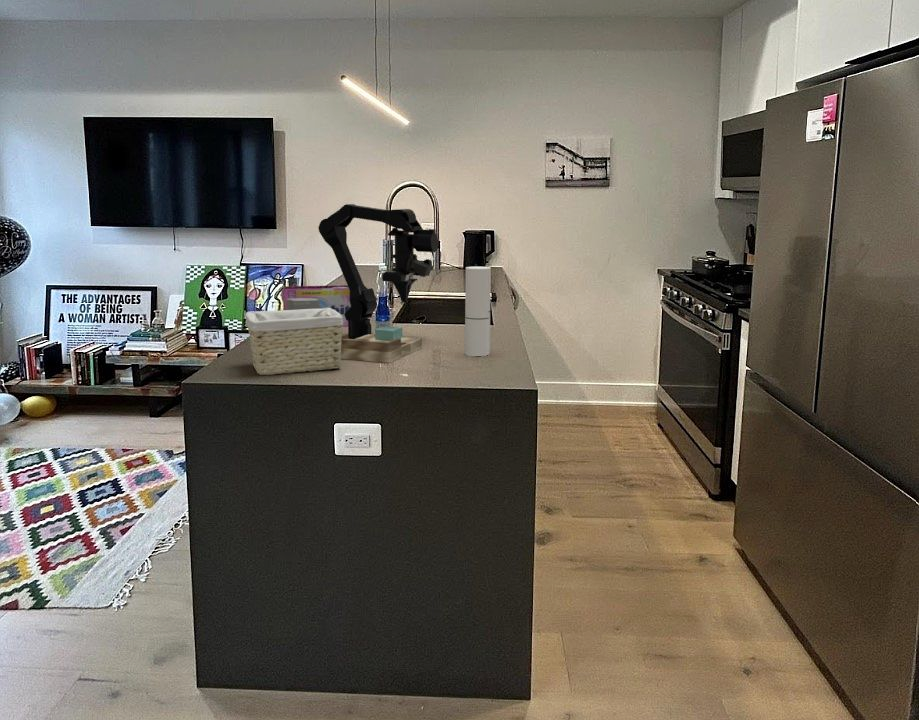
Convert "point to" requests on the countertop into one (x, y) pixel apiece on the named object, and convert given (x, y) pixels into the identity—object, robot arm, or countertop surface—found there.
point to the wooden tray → (378, 348)
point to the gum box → (322, 297)
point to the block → (388, 333)
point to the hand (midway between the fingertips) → (404, 302)
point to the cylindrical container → (477, 311)
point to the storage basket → (295, 340)
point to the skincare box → (302, 303)
